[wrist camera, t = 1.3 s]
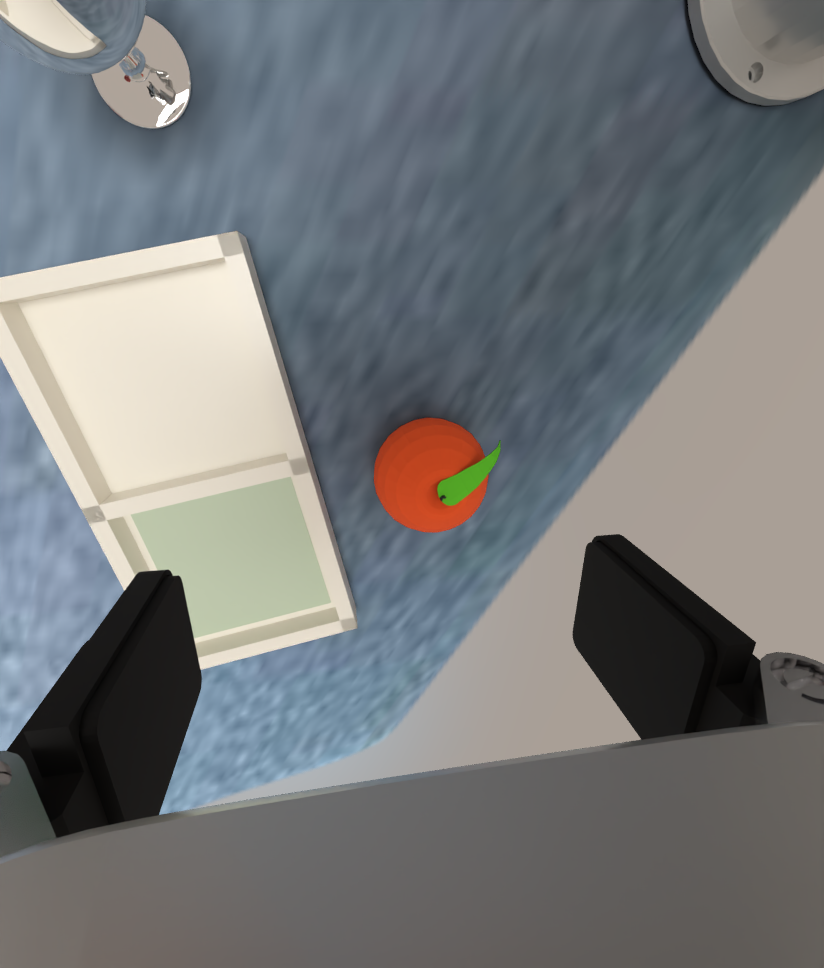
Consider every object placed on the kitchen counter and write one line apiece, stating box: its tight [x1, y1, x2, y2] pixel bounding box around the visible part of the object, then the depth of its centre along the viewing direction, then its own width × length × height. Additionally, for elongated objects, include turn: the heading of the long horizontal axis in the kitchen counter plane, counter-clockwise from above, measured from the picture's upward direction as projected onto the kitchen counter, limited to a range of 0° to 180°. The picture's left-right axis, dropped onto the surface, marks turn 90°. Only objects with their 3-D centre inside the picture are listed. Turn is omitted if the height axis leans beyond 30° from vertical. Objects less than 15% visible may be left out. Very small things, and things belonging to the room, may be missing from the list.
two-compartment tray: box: [0, 231, 357, 670], centre depth 28 cm, size 13×25×2 cm, turn 11°
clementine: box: [374, 418, 500, 532], centre depth 28 cm, size 8×7×7 cm
